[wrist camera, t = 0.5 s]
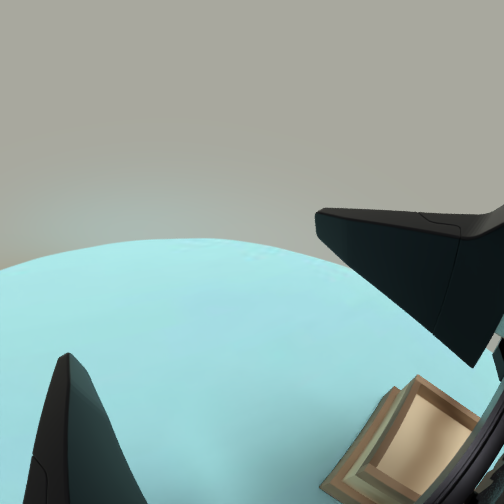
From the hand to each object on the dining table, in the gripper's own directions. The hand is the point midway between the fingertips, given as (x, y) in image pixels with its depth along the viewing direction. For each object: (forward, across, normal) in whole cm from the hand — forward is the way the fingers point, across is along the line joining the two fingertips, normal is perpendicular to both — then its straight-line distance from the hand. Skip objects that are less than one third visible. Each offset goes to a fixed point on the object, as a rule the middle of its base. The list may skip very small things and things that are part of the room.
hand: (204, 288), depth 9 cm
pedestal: (-8, -6, +20) cm, 22 cm away
